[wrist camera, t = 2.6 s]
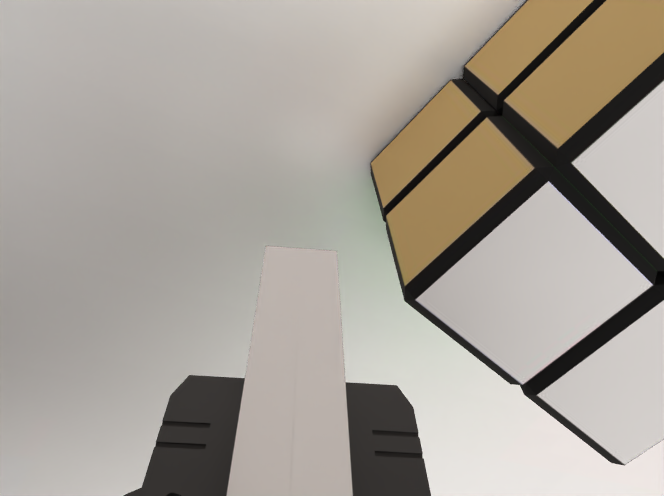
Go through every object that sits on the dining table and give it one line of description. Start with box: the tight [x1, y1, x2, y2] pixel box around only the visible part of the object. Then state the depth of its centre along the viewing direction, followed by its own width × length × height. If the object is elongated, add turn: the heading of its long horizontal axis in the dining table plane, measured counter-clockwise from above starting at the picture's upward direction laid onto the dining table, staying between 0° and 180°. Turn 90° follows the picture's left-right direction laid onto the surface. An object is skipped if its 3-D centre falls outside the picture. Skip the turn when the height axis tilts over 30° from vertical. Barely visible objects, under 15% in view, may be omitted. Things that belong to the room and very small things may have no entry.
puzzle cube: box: [371, 0, 664, 465], centre depth 20 cm, size 10×10×10 cm
